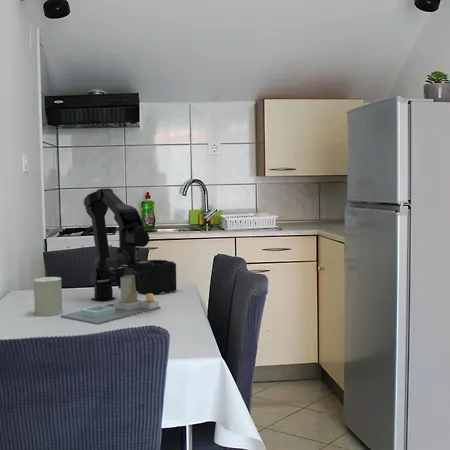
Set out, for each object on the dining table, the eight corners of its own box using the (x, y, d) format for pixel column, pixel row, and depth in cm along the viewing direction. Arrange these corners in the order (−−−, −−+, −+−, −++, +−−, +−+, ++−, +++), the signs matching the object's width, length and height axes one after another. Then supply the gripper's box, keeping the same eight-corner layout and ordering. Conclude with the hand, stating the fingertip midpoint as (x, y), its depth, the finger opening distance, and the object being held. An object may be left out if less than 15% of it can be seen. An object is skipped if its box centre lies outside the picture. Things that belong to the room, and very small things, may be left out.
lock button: (145, 302, 209) (144, 294, 209) (149, 301, 211) (149, 293, 211) (150, 303, 208) (149, 294, 208) (154, 302, 210) (154, 293, 209)
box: (132, 309, 208) (131, 277, 207) (120, 309, 209) (119, 277, 208) (137, 306, 213) (137, 275, 212) (126, 306, 214) (125, 274, 213)
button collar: (141, 307, 209) (141, 301, 209) (149, 305, 212) (149, 299, 212) (150, 309, 207) (150, 303, 206) (158, 306, 210) (158, 301, 210)
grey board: (60, 317, 199) (60, 309, 198) (124, 302, 221) (123, 295, 221) (97, 324, 188) (97, 316, 188) (160, 308, 210) (160, 301, 210)
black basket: (154, 287, 252) (153, 258, 251) (182, 290, 243) (181, 261, 242) (129, 292, 240) (128, 262, 239) (158, 296, 231) (157, 265, 230)
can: (37, 317, 200) (35, 280, 199) (32, 311, 208) (30, 276, 207) (65, 314, 204) (64, 278, 203) (59, 308, 212) (58, 274, 211)
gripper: (91, 245, 208) (92, 290, 209) (129, 248, 197) (131, 296, 198) (115, 242, 217) (116, 285, 218) (153, 245, 206) (154, 291, 207)
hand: (128, 289), depth 210 cm, fingers open, 8 cm apart
